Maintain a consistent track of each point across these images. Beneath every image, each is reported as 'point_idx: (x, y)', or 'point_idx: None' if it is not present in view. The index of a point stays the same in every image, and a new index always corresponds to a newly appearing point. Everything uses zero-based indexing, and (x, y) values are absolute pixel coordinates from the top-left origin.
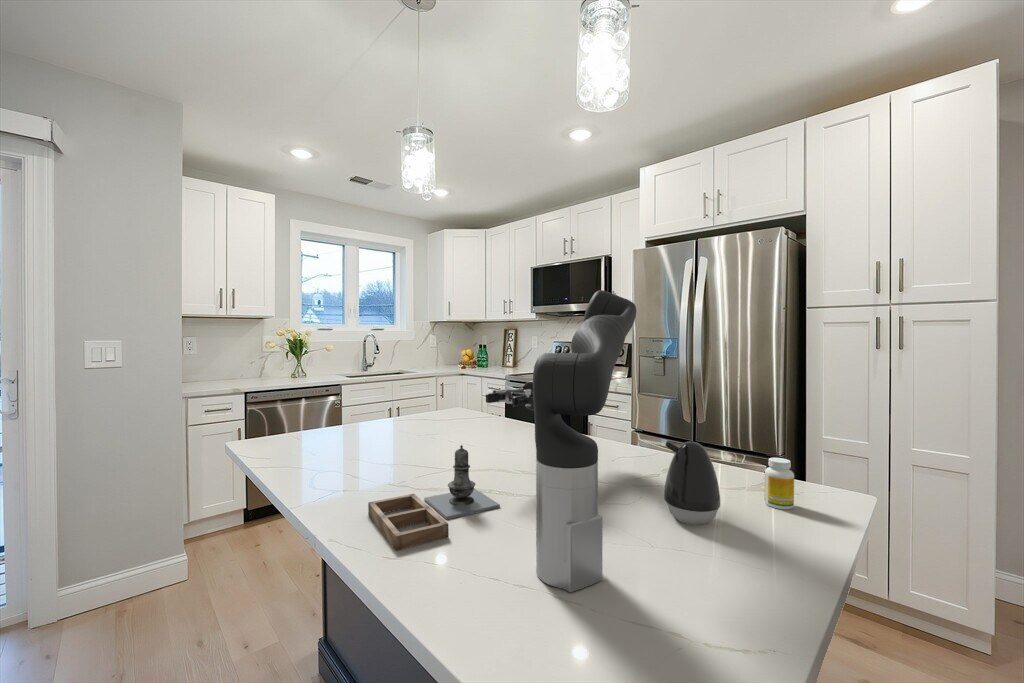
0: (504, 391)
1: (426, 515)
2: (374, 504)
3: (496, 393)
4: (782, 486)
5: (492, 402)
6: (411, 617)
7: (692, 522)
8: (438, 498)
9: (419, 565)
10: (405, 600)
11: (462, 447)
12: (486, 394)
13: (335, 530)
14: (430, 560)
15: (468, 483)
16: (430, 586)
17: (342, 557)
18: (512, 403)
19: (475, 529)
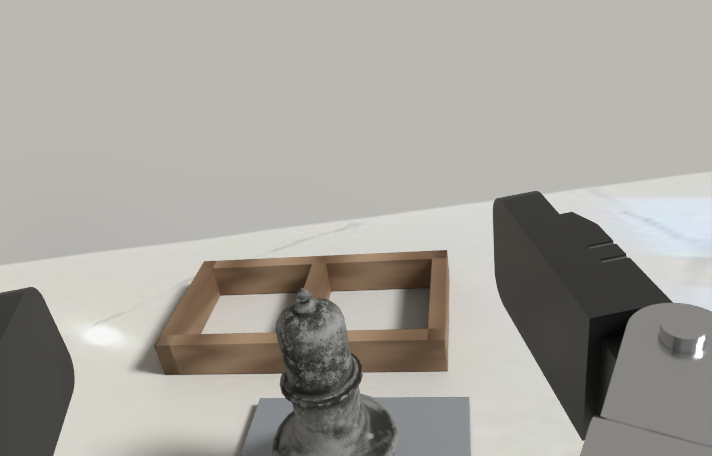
0: (706, 446)
1: None
2: (420, 257)
3: (567, 292)
4: None
5: (529, 344)
6: (22, 270)
7: None
8: (430, 431)
9: (122, 304)
10: (61, 271)
11: (300, 302)
12: (529, 194)
13: (396, 231)
14: (117, 320)
15: (290, 441)
16: (50, 300)
17: (267, 232)
18: (58, 344)
19: (134, 443)
